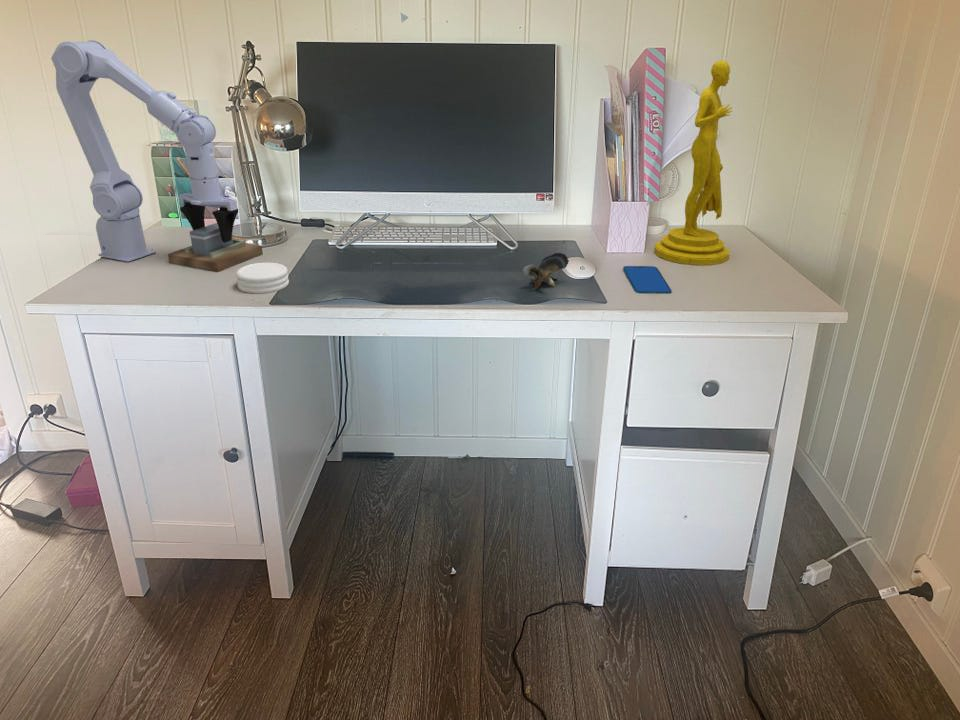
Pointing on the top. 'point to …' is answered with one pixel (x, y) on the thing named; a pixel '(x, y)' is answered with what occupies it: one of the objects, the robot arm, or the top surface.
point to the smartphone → (646, 279)
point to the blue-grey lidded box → (207, 240)
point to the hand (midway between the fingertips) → (213, 239)
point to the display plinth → (217, 256)
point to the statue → (702, 185)
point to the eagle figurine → (546, 269)
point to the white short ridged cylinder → (262, 277)
